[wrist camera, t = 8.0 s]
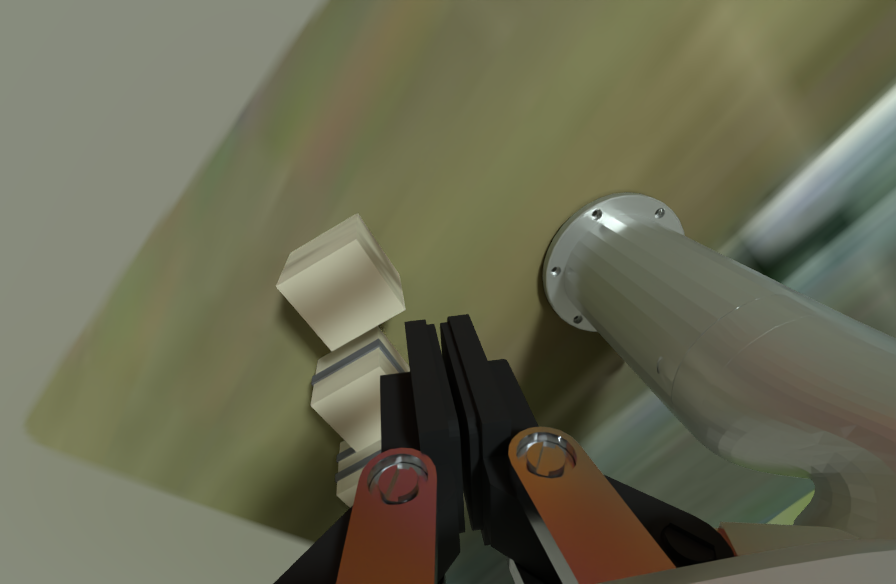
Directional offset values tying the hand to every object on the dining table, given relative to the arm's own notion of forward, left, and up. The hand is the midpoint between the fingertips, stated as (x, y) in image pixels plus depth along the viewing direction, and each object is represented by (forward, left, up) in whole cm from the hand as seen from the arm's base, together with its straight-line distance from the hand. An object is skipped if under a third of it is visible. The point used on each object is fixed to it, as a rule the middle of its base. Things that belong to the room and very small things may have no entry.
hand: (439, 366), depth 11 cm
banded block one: (-13, +10, -23) cm, 28 cm away
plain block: (-4, +6, -23) cm, 24 cm away
